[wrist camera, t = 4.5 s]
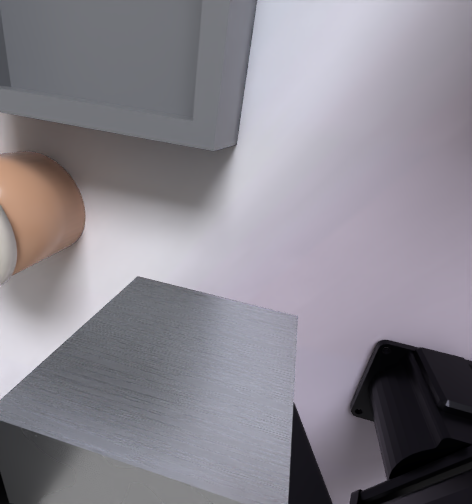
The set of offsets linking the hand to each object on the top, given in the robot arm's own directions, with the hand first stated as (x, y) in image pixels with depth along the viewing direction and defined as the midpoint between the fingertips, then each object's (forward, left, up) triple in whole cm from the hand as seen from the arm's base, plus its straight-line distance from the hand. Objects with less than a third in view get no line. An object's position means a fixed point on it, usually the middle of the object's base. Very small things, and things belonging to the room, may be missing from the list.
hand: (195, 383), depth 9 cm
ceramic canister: (0, +15, -11) cm, 18 cm away
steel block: (0, 0, -1) cm, 1 cm away
